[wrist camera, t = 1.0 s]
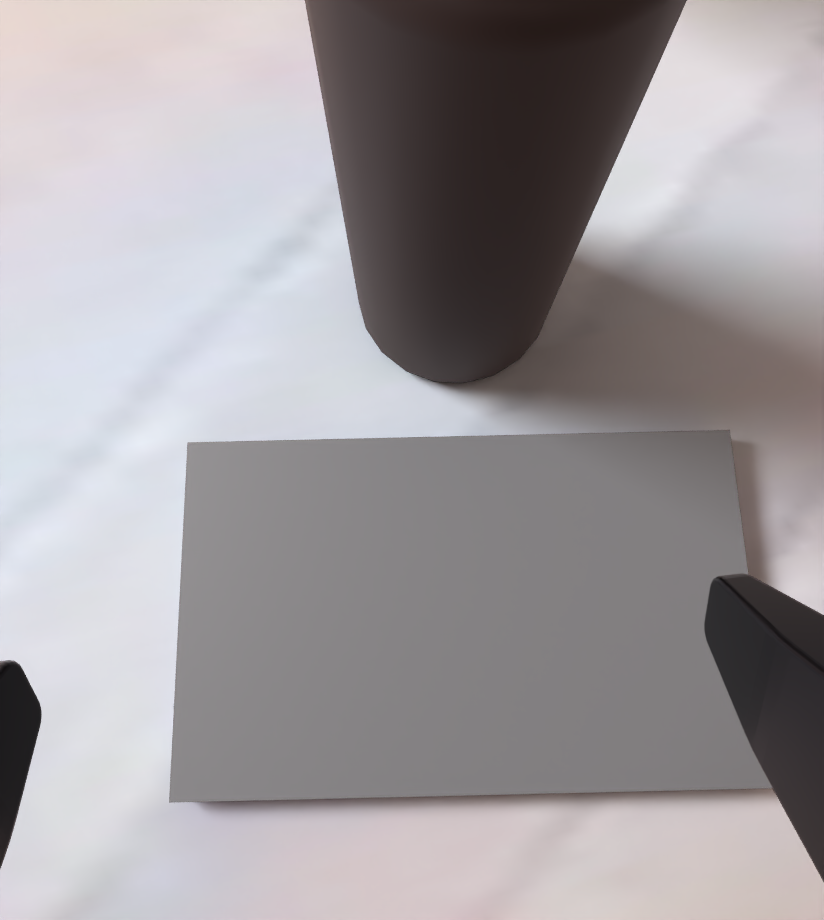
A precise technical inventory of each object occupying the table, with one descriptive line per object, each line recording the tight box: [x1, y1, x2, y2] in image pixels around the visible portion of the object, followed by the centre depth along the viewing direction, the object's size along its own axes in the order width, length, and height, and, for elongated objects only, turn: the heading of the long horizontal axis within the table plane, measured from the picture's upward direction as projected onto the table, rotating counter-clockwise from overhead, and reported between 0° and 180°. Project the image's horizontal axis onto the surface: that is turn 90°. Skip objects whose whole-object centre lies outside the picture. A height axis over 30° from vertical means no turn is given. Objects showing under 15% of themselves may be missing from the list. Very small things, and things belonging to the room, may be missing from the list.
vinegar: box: [305, 0, 687, 383], centre depth 15 cm, size 7×7×20 cm
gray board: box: [169, 430, 772, 802], centre depth 22 cm, size 11×18×1 cm, turn 92°
